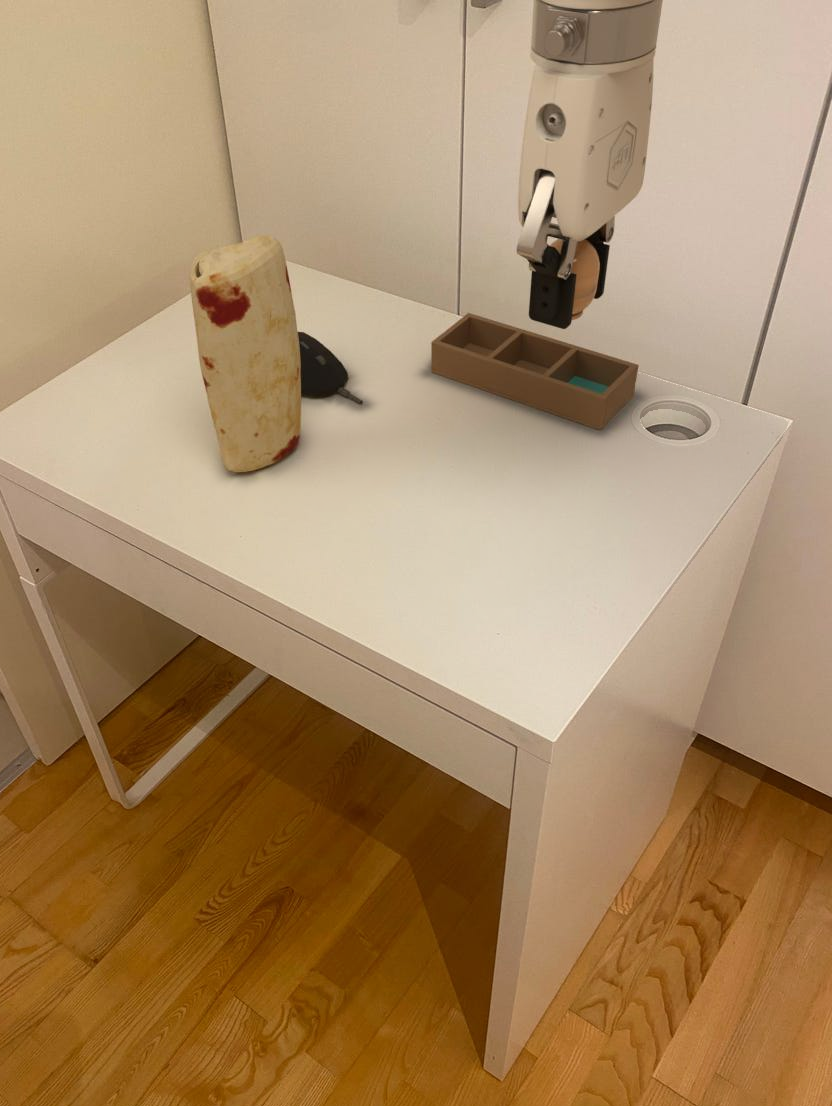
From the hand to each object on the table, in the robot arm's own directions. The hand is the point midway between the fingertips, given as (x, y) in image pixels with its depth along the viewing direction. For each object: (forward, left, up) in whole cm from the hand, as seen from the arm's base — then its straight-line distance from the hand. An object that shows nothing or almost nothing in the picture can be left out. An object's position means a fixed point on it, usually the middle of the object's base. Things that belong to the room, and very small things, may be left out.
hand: (566, 305), depth 73 cm
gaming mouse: (+26, -13, -18) cm, 34 cm away
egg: (0, 0, -1) cm, 1 cm away
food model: (+26, 0, -18) cm, 32 cm away
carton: (+4, -17, -18) cm, 24 cm away
